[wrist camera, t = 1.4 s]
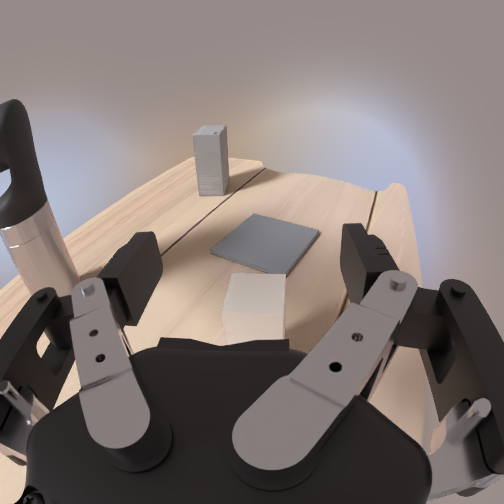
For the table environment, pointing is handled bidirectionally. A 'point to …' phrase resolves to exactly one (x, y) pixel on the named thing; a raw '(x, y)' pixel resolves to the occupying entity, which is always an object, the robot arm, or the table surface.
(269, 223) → the grey mat
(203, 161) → the skincare box
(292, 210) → the table surface
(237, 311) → the cream block
